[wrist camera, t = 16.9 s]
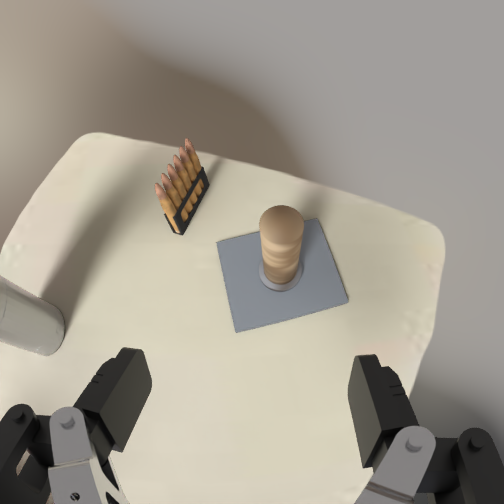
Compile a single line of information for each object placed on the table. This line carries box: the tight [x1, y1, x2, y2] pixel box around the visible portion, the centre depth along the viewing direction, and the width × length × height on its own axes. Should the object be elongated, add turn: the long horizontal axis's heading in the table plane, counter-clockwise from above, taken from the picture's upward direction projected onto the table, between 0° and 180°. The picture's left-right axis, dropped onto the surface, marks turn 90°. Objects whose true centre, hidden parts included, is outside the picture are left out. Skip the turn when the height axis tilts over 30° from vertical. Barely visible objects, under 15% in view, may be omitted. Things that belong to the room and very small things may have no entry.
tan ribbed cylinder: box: [259, 205, 304, 292], centre depth 36 cm, size 6×6×13 cm
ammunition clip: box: [155, 138, 209, 235], centre depth 44 cm, size 11×2×12 cm, turn 160°
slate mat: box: [216, 218, 348, 333], centre depth 42 cm, size 16×14×1 cm
